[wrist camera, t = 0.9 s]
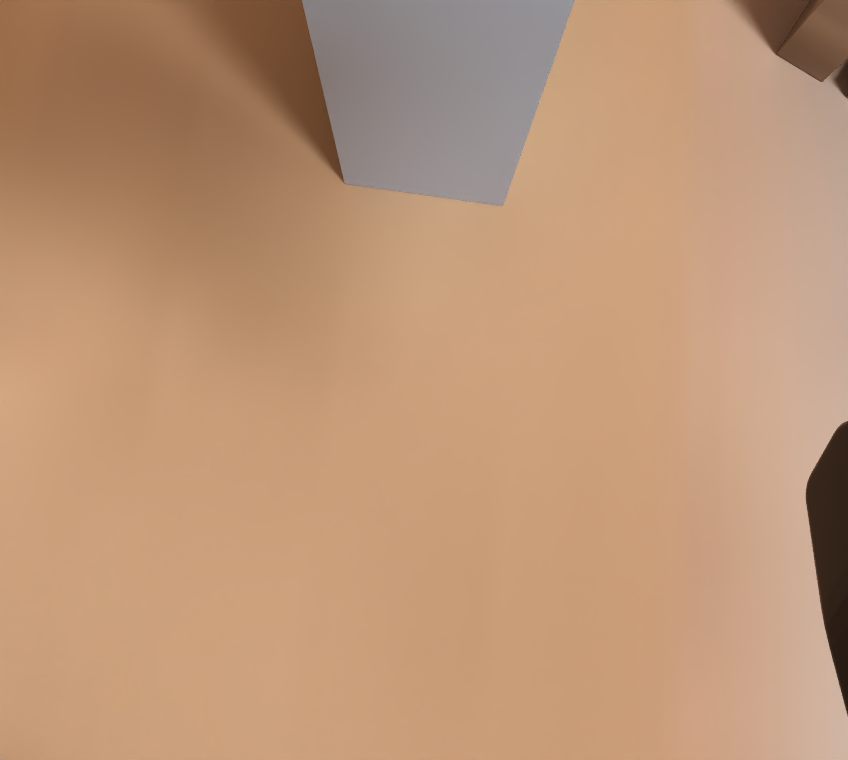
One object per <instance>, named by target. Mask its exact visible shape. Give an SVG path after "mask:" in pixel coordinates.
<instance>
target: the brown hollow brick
mask: <svg viewBox="0 0 848 760" xmlns="http://www.w3.org/2000/svg"><path fill="white" fill-rule="evenodd" d="M777 55H779V56H780V57H782V58H783V59H785V60H787V61H788V62H790V63H792V64H793V65H795V66H797V67H798V68H800V69H801V70H803V71H805V72H806V73H808V74H810V75H811V76H813V77H815V78H816V79H818V80H820V81H821V82H823V81H824V80H825V79H826V78H827V77H828V76H829V75H830V74H831V73H832V72H833V71H834V70H835V69H837V68H838V67H839V66H840V65H841V64H842V63H843V62H844V61H845V60H846V59H847V58H848V0H810V2H809V3H808V5H807V7H806V8H805V10H804V11H803V13H802V14H801V16H800V18H799V19H798V21H797V22H796V24H795V26H794V27H793V29H792V30H791V32H790V33H789V35H788V37H787V38H786V40H785V41H784V43H783V45H782V46H781V48H780V49H779V51H778V52H777ZM847 98H848V96H847Z"/></svg>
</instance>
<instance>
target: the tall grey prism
mask: <svg viewBox="0 0 848 760" xmlns="http://www.w3.org/2000/svg"><path fill="white" fill-rule="evenodd" d="M302 3H303V8H304V12H305V16H306V21H307V25H308V29H309V33H310V38H311V42H312V46H313V50H314V55H315V59H316V63H317V68H318V72H319V76H320V80H321V85H322V89H323V93H324V98H325V102H326V106H327V110H328V115H329V119H330V123H331V127H332V132H333V136H334V140H335V145H336V149H337V153H338V157H339V162H340V166H341V170H342V175H343V179H344V183H345V184H351V185H359V186H366V187H373V188H380V189H387V190H394V191H401V192H408V193H415V194H422V195H429V196H436V197H443V198H450V199H457V200H464V201H472V202H479V203H486V204H493V205H500V206H503V204H504V201H505V198H506V196H507V193H508V190H509V187H510V184H511V181H512V178H513V175H514V173H515V170H516V167H517V164H518V161H519V158H520V155H521V152H522V150H523V147H524V144H525V141H526V138H527V135H528V132H529V129H530V127H531V124H532V121H533V118H534V115H535V112H536V109H537V106H538V104H539V101H540V98H541V95H542V92H543V89H544V86H545V83H546V81H547V78H548V75H549V73H550V70H551V67H552V64H553V61H554V58H555V56H556V53H557V50H558V47H559V43H560V40H561V37H562V35H563V32H564V29H565V26H566V23H567V20H568V17H569V14H570V12H571V9H572V6H573V3H574V0H302Z"/></svg>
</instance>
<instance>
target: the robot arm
mask: <svg viewBox="0 0 848 760" xmlns="http://www.w3.org/2000/svg"><path fill="white" fill-rule="evenodd" d="M806 504H807V511H808V518H809V525H810V532H811V539H812V546H813V553H814V560H815V567H816V574H817V581H818V588H819V595H820V602H821V609H822V614H823V620H824V625H825V630H826V634H827V638H828V642H829V647H830V651H831V654H832V658H833V662H834V666H835V670H836V673H837V677H838V681H839V685H840V688H841V692H842V696H843V700H844V704H845V707H846V711H847V715H848V421H847V422H844V423H842V424H841V425H840V426H839V427H838V428H837V430H836V431H835V433H834V434H833V436H832V438H831V440H830V441H829V443H828V445H827V447H826V448H825V450H824V452H823V454H822V455H821V457H820V459H819V461H818V462H817V464H816V466H815V468H814V470H813V471H812V473H811V475H810V477H809V480H808V483H807V488H806Z"/></svg>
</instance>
